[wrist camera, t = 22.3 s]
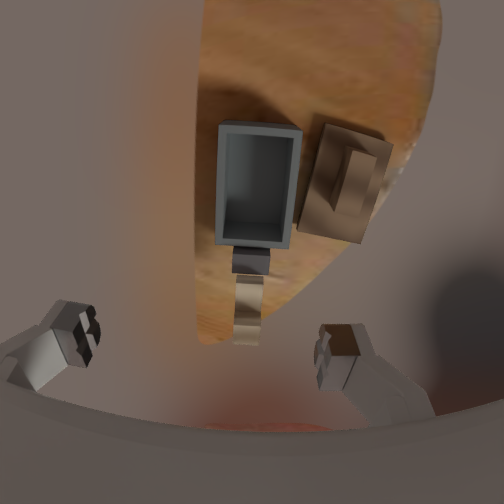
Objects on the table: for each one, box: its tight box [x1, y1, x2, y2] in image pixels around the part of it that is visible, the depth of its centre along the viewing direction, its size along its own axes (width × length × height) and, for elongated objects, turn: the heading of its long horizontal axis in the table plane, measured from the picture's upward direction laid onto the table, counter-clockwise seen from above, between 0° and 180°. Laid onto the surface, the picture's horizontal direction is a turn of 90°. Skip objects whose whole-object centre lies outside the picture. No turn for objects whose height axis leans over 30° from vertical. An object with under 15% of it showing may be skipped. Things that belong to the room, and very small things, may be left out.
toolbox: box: [215, 120, 303, 275], centre depth 43 cm, size 20×10×8 cm, turn 176°
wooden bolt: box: [233, 275, 264, 345], centre depth 43 cm, size 8×4×5 cm, turn 176°
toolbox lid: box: [296, 123, 394, 244], centre depth 43 cm, size 17×11×6 cm, turn 169°
